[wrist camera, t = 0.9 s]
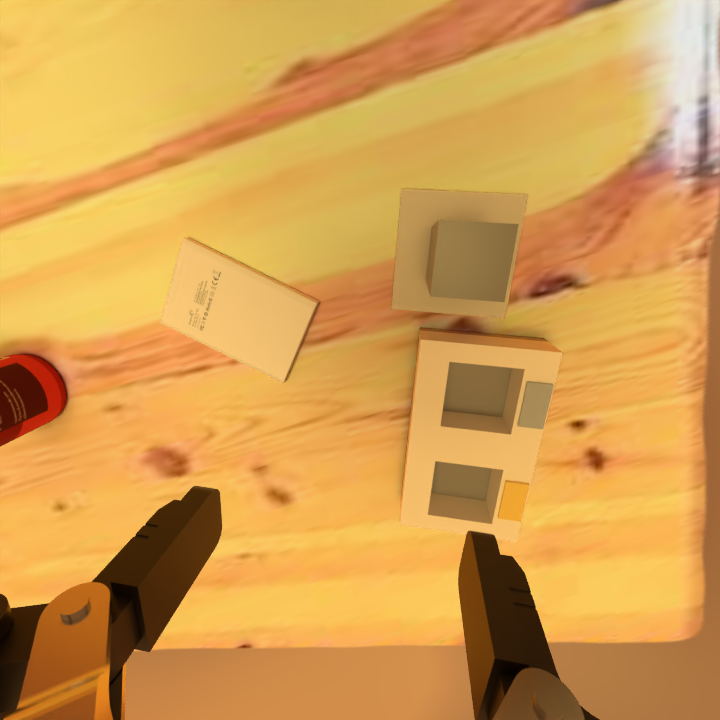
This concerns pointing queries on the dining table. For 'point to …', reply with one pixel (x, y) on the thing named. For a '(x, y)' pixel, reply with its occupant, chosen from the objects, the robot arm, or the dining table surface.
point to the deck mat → (414, 243)
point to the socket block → (475, 430)
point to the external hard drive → (237, 310)
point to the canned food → (28, 395)
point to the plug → (470, 259)
